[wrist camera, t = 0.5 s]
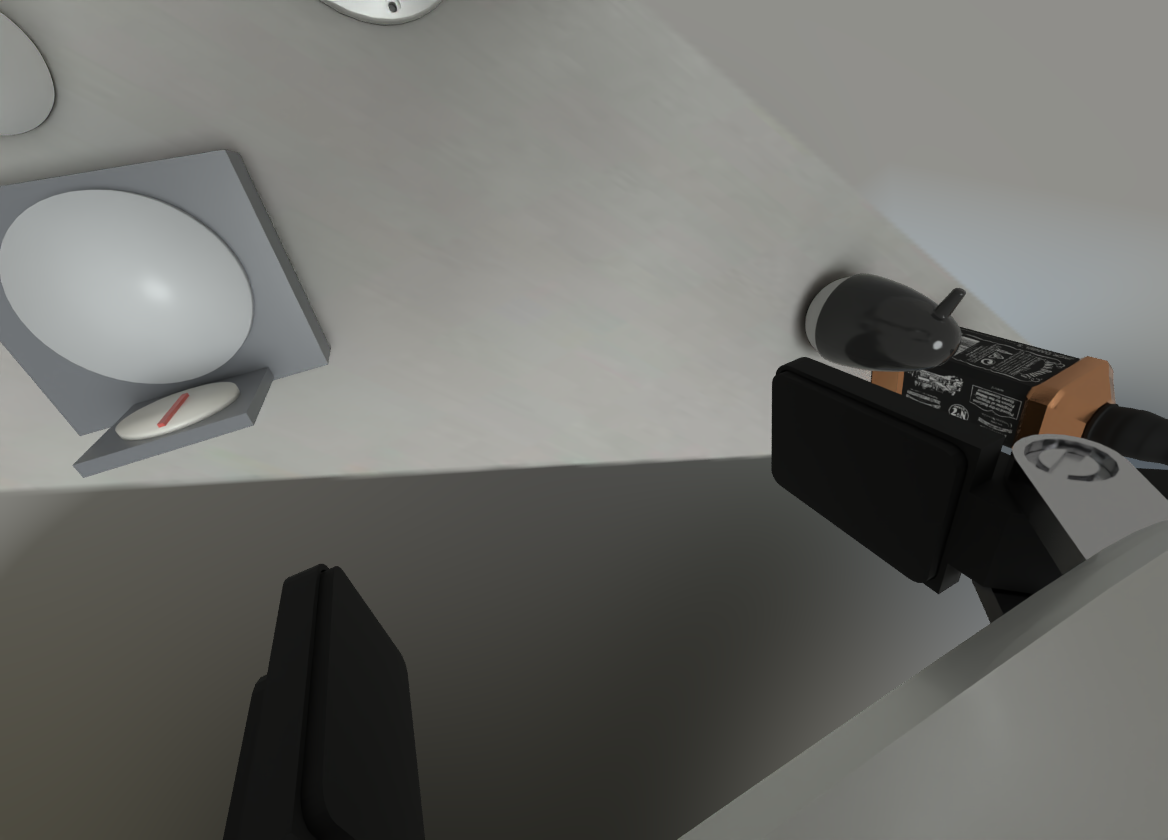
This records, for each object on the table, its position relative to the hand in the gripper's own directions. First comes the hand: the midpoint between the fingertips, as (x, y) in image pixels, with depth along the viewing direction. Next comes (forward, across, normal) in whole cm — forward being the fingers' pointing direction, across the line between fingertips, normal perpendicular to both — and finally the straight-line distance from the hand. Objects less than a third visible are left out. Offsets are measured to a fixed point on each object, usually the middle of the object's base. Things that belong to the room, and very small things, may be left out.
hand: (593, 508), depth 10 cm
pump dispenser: (+34, -43, +18) cm, 58 cm away
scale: (+34, +16, -3) cm, 37 cm away
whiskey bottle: (+34, -57, +30) cm, 73 cm away
